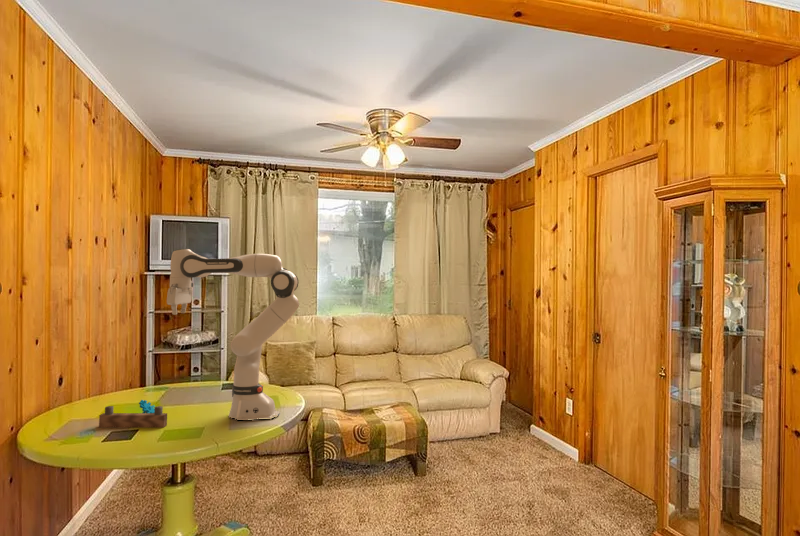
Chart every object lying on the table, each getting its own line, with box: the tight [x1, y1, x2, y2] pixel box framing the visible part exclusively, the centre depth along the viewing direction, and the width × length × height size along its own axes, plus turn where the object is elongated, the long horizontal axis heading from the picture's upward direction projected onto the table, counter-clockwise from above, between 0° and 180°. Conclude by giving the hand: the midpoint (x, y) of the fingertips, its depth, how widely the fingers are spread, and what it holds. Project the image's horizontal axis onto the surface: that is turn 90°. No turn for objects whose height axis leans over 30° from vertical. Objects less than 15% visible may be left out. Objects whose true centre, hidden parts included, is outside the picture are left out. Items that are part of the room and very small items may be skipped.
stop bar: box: [98, 405, 168, 428], centre depth 194 cm, size 26×3×8 cm, turn 94°
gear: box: [138, 399, 156, 413], centre depth 208 cm, size 11×6×10 cm
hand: (179, 313), depth 213 cm, fingers open, 8 cm apart
